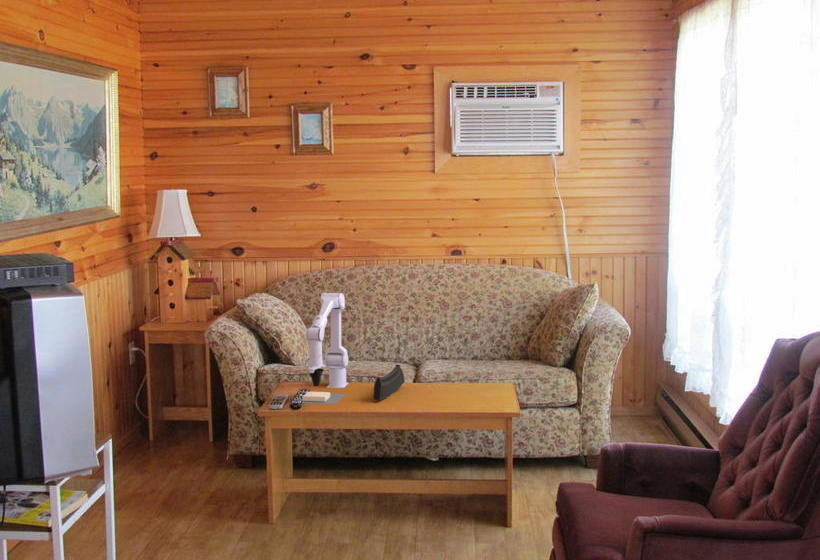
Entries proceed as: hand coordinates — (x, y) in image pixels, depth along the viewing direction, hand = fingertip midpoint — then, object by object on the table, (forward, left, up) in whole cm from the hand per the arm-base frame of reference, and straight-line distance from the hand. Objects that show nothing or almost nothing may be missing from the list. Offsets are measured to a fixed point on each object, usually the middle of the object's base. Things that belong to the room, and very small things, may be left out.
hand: (316, 385), depth 396 cm
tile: (-4, 0, -5) cm, 6 cm away
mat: (-2, 0, -6) cm, 7 cm away
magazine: (-15, +29, -7) cm, 33 cm away
